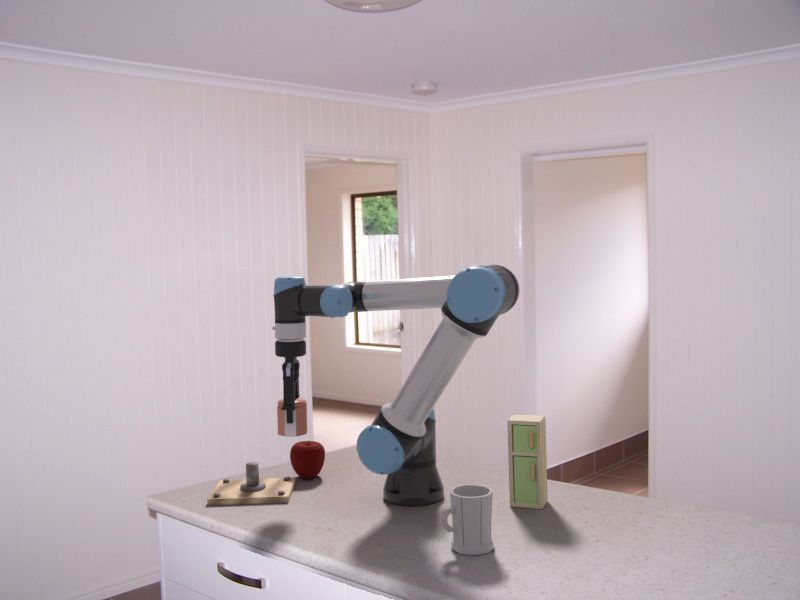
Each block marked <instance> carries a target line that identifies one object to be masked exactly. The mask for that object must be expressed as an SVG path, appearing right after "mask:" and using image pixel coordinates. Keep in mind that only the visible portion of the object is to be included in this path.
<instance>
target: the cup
mask: <svg viewBox="0 0 800 600" xmlns="http://www.w3.org/2000/svg"><path fill="white" fill-rule="evenodd" d="M493 491H494V489H492V488H490V487H489V486H486V485H480V484H462V485H456V486H454V487H452V488H451V489H449V498H450V504H449V505H447V506H444V507H441V509H440V511H439V519H440V527H441V528H442V529H443V530H444V531H445V532H447V533H452V538H451V539H450V541H451V542H450V545H451V546H450V547H451V549H452V551H454V552H456V553H458V554H461V555H464V556H482V555H485V554H488V553H490V552H492V550H493V549H494V547H495V545H494V539H493V538H492V518H493V515H492V514H493V510H492V509H493V496H494V495H493V494H494V492H493ZM449 515H451V517H452V520H451V521H452V524H449V523H448V517H449Z"/></svg>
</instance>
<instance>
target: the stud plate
mask: <svg viewBox="0 0 800 600" xmlns="http://www.w3.org/2000/svg"><path fill="white" fill-rule="evenodd" d="M259 468H260V467H259V462H257V461H251V462H247V463H245V476H246V478H243V479H241V478H240V479H238V478H237V479H229V478H225V479H220V480H219V481H218V482H217V485H216V486H214V488H213V490H212V492H211V493H210V494H209V496H208V498H207V501H206V502H207V506H222V505H225V506H226V505H250V504H254V505H255V504H277V503H278V504H279V503H281V504H282V503H283V504H284V503H290V500H291V497H292V494H293V491H294V488H295V486H296V477H293V476H292V477H290V476H284V477H271V478H268V477H267V478H260V471H259Z"/></svg>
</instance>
